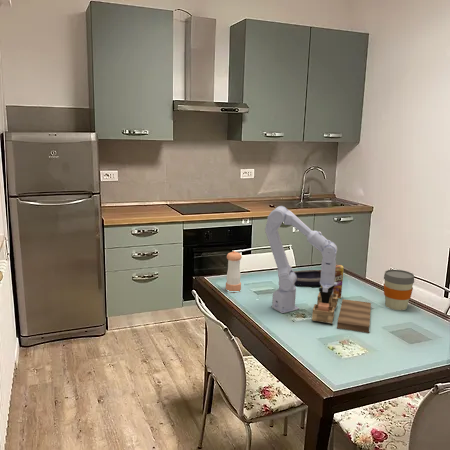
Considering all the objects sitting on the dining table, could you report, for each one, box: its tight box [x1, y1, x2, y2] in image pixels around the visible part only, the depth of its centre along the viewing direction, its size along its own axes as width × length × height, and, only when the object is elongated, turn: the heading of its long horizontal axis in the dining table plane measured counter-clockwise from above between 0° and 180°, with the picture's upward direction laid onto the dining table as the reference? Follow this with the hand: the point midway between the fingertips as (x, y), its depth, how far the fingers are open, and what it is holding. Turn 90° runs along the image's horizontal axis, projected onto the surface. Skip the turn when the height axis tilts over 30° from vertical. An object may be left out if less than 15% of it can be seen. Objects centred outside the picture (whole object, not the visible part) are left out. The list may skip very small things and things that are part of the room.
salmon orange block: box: [318, 302, 329, 312], centre depth 187 cm, size 4×4×3 cm
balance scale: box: [311, 292, 339, 324], centre depth 194 cm, size 22×8×7 cm, turn 162°
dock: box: [336, 298, 372, 334], centre depth 191 cm, size 26×12×2 cm, turn 162°
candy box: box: [320, 264, 344, 299], centre depth 212 cm, size 9×4×15 cm, turn 98°
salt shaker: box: [225, 250, 242, 292], centre depth 219 cm, size 7×7×19 cm
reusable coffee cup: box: [383, 269, 415, 311], centre depth 203 cm, size 13×13×15 cm
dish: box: [293, 269, 321, 287], centre depth 234 cm, size 16×31×5 cm, turn 100°
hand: (325, 302), depth 194 cm, fingers closed on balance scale, 4 cm apart
